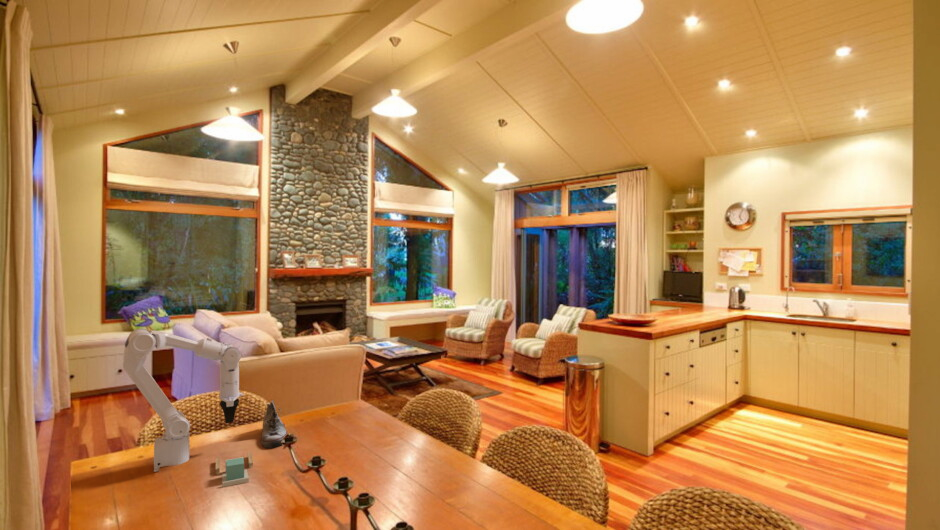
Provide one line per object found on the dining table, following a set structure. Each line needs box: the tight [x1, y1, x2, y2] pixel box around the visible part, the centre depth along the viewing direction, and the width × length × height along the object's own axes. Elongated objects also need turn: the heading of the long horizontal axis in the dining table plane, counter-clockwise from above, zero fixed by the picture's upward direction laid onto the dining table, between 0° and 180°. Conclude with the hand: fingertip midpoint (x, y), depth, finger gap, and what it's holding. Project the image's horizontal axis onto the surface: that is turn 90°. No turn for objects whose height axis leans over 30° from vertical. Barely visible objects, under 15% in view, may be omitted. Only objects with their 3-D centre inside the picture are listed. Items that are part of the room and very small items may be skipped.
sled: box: [221, 456, 250, 488], centre depth 139 cm, size 7×11×4 cm, turn 28°
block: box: [225, 457, 245, 481], centre depth 138 cm, size 4×4×4 cm
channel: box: [215, 451, 254, 475], centre depth 147 cm, size 10×9×2 cm
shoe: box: [260, 399, 288, 449], centre depth 171 cm, size 25×11×12 cm, turn 13°
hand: (229, 422), depth 159 cm, fingers closed
